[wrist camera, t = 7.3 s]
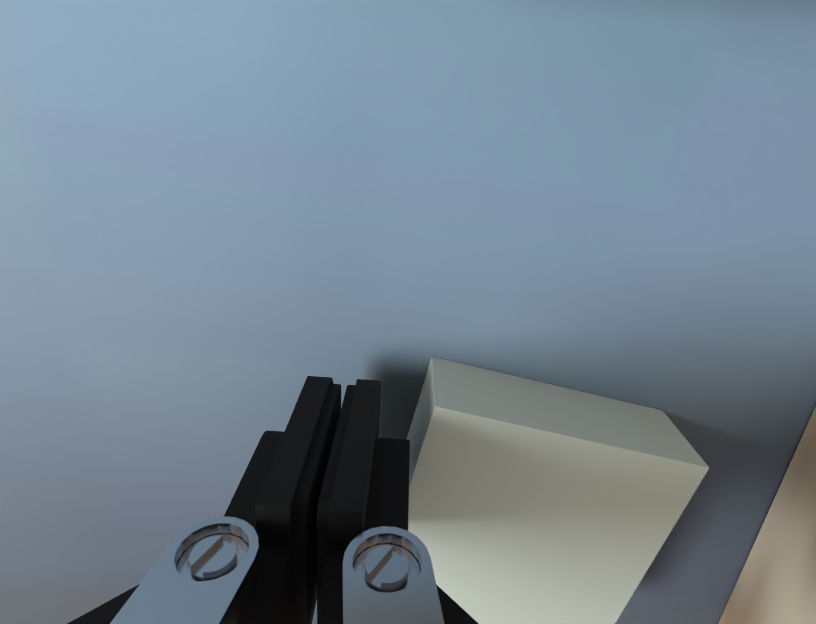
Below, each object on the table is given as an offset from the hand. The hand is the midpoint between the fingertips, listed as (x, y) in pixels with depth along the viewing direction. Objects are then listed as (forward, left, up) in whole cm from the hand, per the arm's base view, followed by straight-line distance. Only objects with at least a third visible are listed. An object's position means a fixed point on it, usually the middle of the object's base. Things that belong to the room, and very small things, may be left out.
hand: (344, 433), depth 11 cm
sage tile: (+2, +4, -2) cm, 5 cm away
